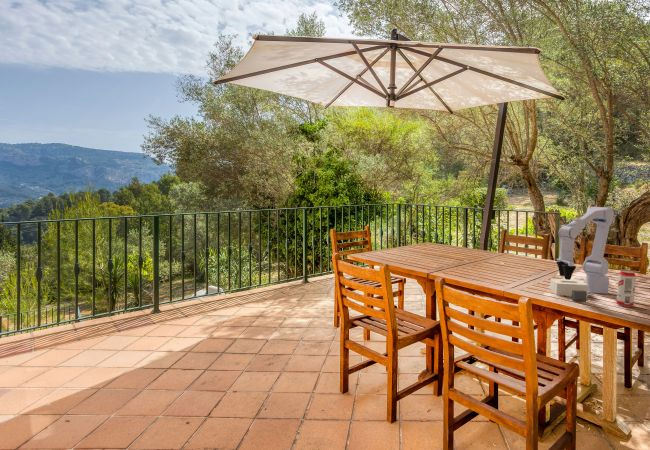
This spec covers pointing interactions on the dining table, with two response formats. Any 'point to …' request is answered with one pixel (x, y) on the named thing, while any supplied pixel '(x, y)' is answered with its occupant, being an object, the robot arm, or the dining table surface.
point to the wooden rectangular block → (579, 296)
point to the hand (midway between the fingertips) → (565, 277)
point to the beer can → (626, 288)
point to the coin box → (567, 286)
